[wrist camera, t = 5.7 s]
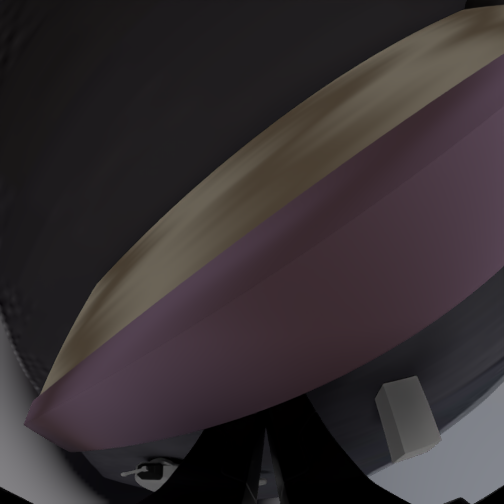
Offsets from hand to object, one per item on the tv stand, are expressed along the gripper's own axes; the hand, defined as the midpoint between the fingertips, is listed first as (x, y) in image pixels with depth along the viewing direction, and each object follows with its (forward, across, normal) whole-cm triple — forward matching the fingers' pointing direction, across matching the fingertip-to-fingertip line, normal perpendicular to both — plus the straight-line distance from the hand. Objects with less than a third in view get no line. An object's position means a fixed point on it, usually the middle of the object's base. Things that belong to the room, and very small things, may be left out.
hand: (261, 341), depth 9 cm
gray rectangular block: (+4, -10, +12) cm, 16 cm away
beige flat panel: (+3, -2, -6) cm, 7 cm away
